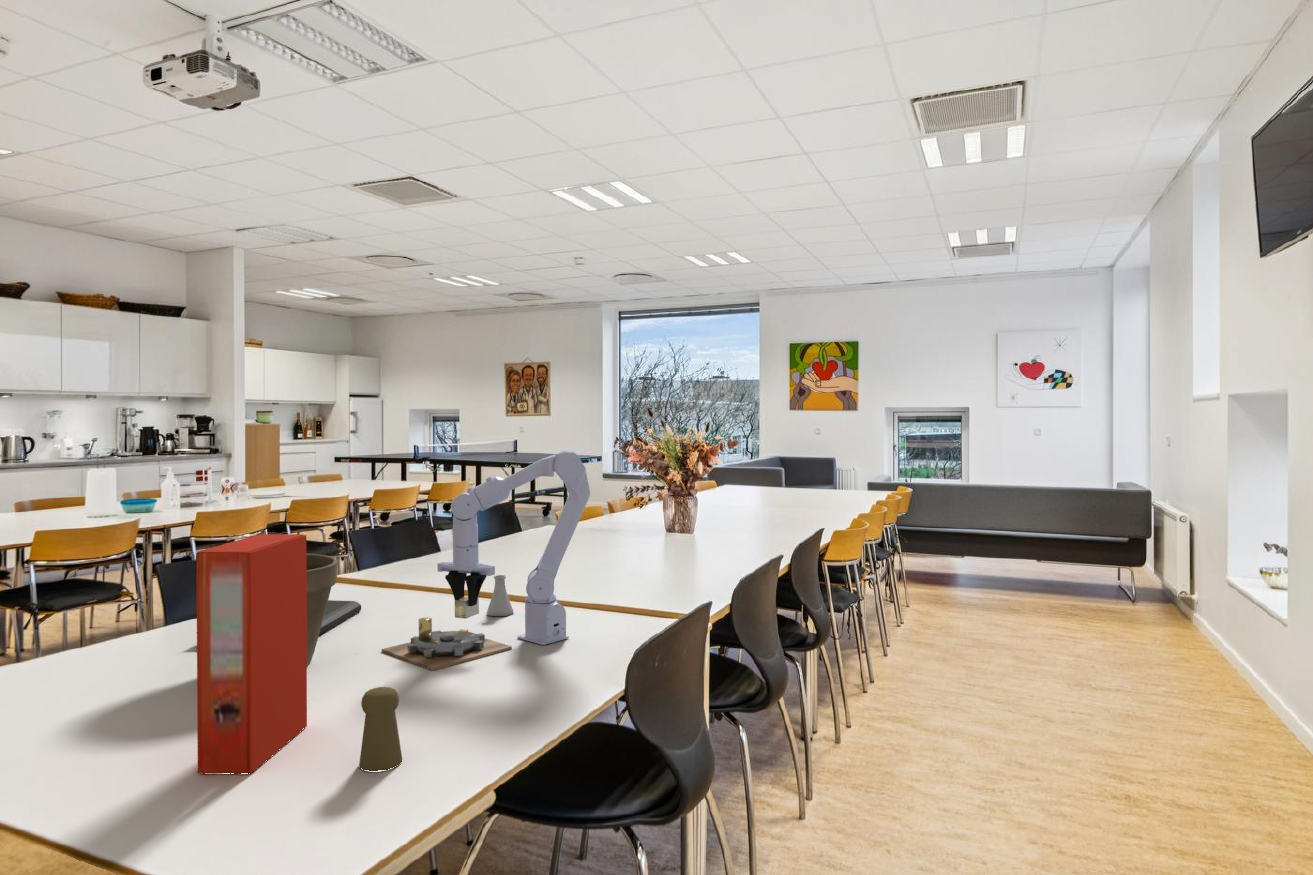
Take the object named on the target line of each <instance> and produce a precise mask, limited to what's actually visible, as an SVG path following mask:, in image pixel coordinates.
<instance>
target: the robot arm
mask: <svg viewBox="0 0 1313 875" xmlns="http://www.w3.org/2000/svg"><path fill="white" fill-rule="evenodd" d="M555 473H556V475H557V476H558V477H559V479H560V480H561V481H562V482H563V483H564V485H565V486H564V487H565V488H566V490H567V492H568V496H567V498H566V501H565V502H564V505H563V508H562V510H561V512H560V514H559V517H558V518H557V521H556V524H555V526H554V528H553V531H552V533H551V535H550V538H549V539H548V542H547V544H546V546H545V549H544V551H543V554H542V556H541V557H540V559H539V561H538V563H537V565H536V567H535V568H533V570H531V571H530V572H529V575H528V576H527V583H526V586H525V590H526V593H527V594H526V596H525V598H524V612H525V613H524V619H525V620H524V629H525V631H524V632H525V633H522V634H519V635H517V638H518V639H520V640H524V641H527V642H530V643H535V644H538V645H542V646H545V645H549V644H552V643H556V642H559V641H562V640H566V639H569V638H570V636H569V635H568V634H567V611H566V609H565V607H564V605H562V604H560V603H559V602H558V600H557V596H556V594H555V593H554V592H555V579H556V577H557V574H558V571H559V568H560V565H561V563H562V561H563V559H564V557H565V555H566V554H565V553H566V551H567V549H568V546H569V545H570V543H571V540H572V538H573V535H574V534H575V531H576V528H577V526H578V525H579V522H580V519H581V516H582V515H583V513H584V511H585V508H586V506H587V503H588V502H589V499H590V496H591V491H590V485H589V479H588V476H587V475H588V474H587V470H586V467H585V465H584V463H583V461H582V460H581V458H580V457H579V455H578V454H577V453H576V452H575V451H572V450H563V451H560V452H559V453H558V454H552V455H550V456H549V455H548V456H547V457H543V458H541V459H539V460H537V461H535V462H533V463H532V464H530V465H528V466H526V467H524V468H521V469H520V470H518V471H516V472H514V473H513V474H511V475H509V476H507V477H505V478H503V477H499V476H495V477H492V476H489V477H487V478H485V481H484V482H483V483H481V484H479V485H477V486H474V487H471V486H470V487H468V488H466V491H467V492H462V493H459V494H458V495H457V496H455V498H453V500H452V502H451V504H450V510H451V513H452V515H453V516H452V524H453V526H452V561H449V562H446V561H442V562H438V563H437V573H438V572H439V573H442V572H445V573H447V572H448V573H447V574H446V575H445V577H444V578H445V580H446V582H447V583H448V585H449V587H450V589H451V592H452V595H453V599H454V601H455V600H456V599H459V598H462V597H465V586H466V589H467V595H468V604H469V606H474V605H476V604H477V600H478V596H479V595H480V591H481V588H482V587H483V584H484V582H485V580H486V578H487V577H491V576H495V574H496V566H495V565H488V564H486V563H485V564H483V563H480V561H479V560H480V559H479V525H478V514H477V513H478V512H479V511H481V512H483V511H485V510H487V509H490V508H492V507H494V506H495V505H498V504H499V503H502V502H503V501H505V500H507V499H509V496H510V494H511V493H510V492H511V491H513V490H515V489H517V488H518V487H522V486H523V485H525V484H527V483H529V482H532V481H533V480H536V479H539V478H540V477H552V478H554V476H555Z"/></svg>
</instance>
